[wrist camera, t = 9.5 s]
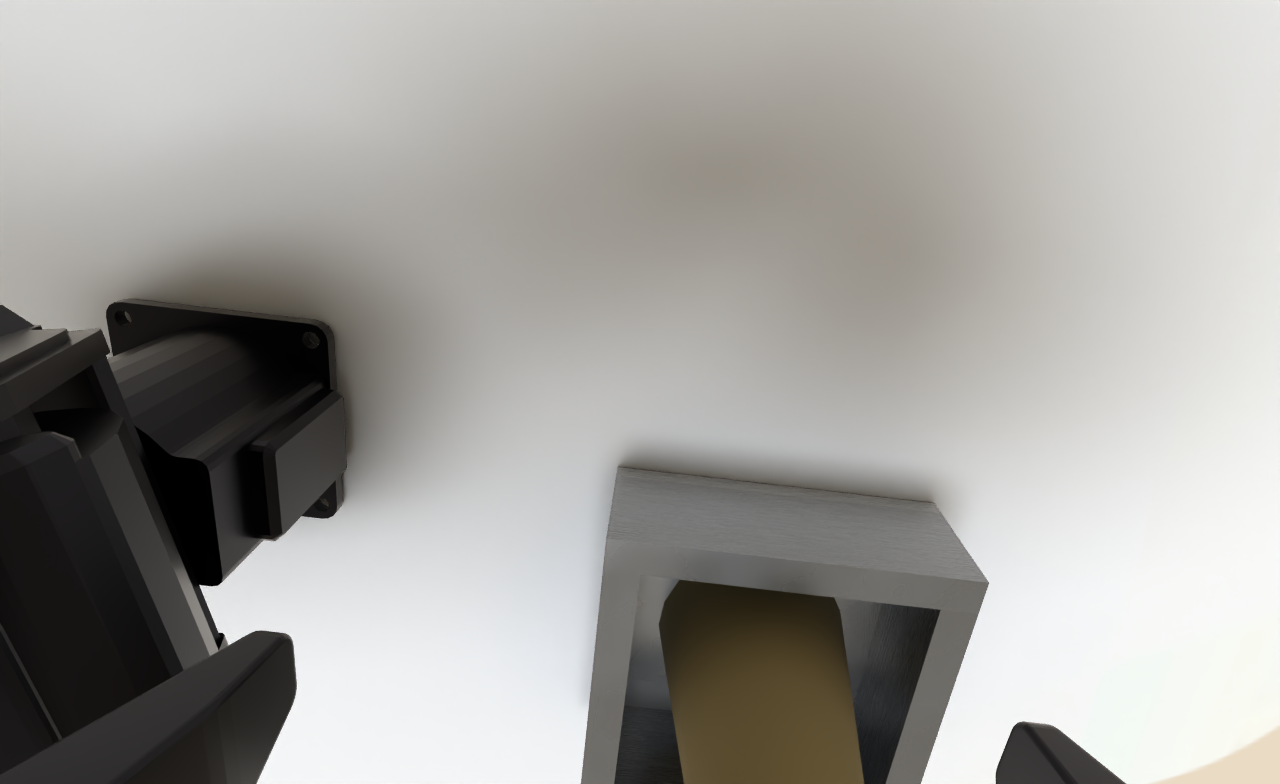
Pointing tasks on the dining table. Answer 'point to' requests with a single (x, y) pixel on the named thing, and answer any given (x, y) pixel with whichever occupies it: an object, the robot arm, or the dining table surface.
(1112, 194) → the dining table surface
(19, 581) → the robot arm
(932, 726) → the square metal tray
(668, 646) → the cork
